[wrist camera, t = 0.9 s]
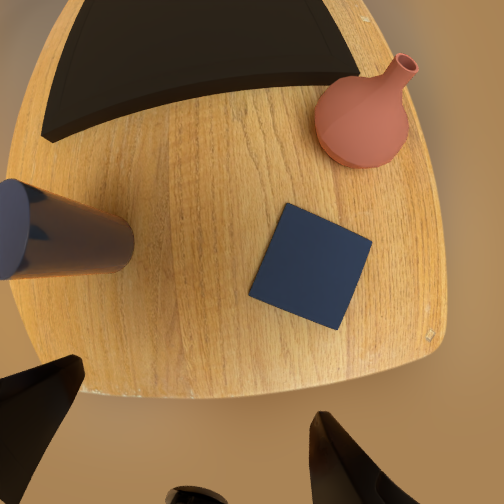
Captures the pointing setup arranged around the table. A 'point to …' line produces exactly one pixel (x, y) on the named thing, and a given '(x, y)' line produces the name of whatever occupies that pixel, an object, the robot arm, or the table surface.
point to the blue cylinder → (57, 235)
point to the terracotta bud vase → (365, 116)
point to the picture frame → (187, 55)
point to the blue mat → (311, 267)
